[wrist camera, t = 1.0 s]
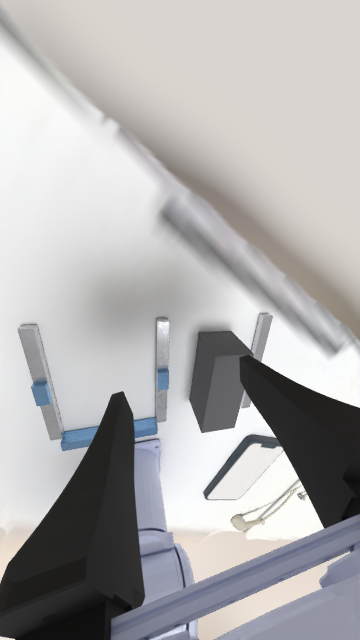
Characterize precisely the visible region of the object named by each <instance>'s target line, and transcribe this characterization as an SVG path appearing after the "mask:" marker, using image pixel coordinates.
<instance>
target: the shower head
mask: <svg viewBox="0 0 360 640" xmlns="http://www.w3.org/2000/svg"><path fill="white" fill-rule="evenodd" d="M301 486H302V485H301ZM299 487H300V486H299ZM299 487H297V488H295V489H294V490H293V492H292V493H291V494H290V495H289V496H288V497H287V499H286V500H285V501H284V502H283V503H282V504H281V505H280V506H279V507H278V508H277V509H275V510H274V511H273V512H272V513H270V514H269V515H267V516H266V517H264V518H263V519H262V518H261V519H257V520H253V521H248V522H245V520H244V519H243V518H242V517H241V516H240V515H236V516H234V517H233V518H232V520H231V523H232V524H233V526H234V527H235V528H236V529H238V530H239V531H244V530H245V529H247V528H249V527H252V526H254V525H257V524H260V523H261V524H262V525H264V523H265V521H264V520H265V519H267V518H268V517H270V516H271V515H272V514H274V513H275V512H276V511H277V510H279V509H280V508H281V507H282V506H283V505H284V504H285V503H286V502H287V500H288V499H289V498H290V497H291V496H292V494H293V493H294V492H295V491H296V490H297V489H298V488H299ZM299 495H300V496H301V497H300V496H299ZM299 495H298V497H299V498H300V499H301V500H305V497H306V496H307V495H308V494H307V493H306V494H304V495H302V494H301V493H300V494H299Z"/></svg>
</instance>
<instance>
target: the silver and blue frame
mask: <svg viewBox="0 0 360 640" xmlns="http://www.w3.org/2000/svg"><path fill="white" fill-rule="evenodd" d="M272 318H273V316H272V315H270V314H259V319H258V323H257V328H256V332H255V336H254V341H253V345H252V350H251V351H252V352H253V353H254V357H253V358H255V359H257V360H258V361H260V362H261V361H262V357H263V353H264V349H265V345H266V341H267V337H268V333H269V329H270V325H271V322H272ZM169 325H170V321H169V319H168V318H165V319H157V336H156V417H155V418H149V419H143V420H136V421H134V430H135V438H138V437H144V436H149V435H155V434H157V422H163V421H166V408H167V389H168V383H169V371H168V353H169ZM18 333H19V336H20V339H21V343H22V346H23V349H24V353H25V356H26V359H27V363H28V366H29V369H30V373H31V376H32V379H33V385H32V387H31V389H32V392H33V395H34V399H35V402H36V405H37V406H41V410H42V413H43V416H44V420H45V423H46V426H47V430H48V433H49V437H50V440H55V439H61V438H62V441H61V447H62V451H66V450H72V449H77V448H83V447H88V446H90V444H91V442H92V440H93V438H94V436H95V434H96V432H97V430H98V427H93V428H87V429H80V430H74V431H68V432H64V429H63V425H62V421H61V417H60V413H59V410H58V406H57V402H56V398H55V394H54V390H53V386H52V382H51V378H50V374H49V370H48V366H47V362H46V358H45V354H44V350H43V346H42V342H41V338H40V334H39V330H38V326H37V325H22V326H20V327H19V328H18ZM250 403H251V399H250V398H249V397H248V395H247V393H246V391H245V390H244V394H243V398H242V401H241V405H240V406H241V408H247V407H250Z"/></svg>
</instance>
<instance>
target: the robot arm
mask: <svg viewBox="0 0 360 640" xmlns="http://www.w3.org/2000/svg"><path fill="white" fill-rule="evenodd" d="M239 362H240V382H241V384H242V386H243V388H244V389H245V391H246V393H247V395H248V397H249V398H250V399H251V401H252V402H253V404H254V405H255V407H256V408H257V410H258V411H259V412H260V414H261V415H262V417H263V418H264V419H265V421H266V422H267V424H268V425H269V427H270V428H271V430H272V431H273V433H274V434H275V436H276V437H277V439H278V441H279V443H280V444H281V446H282V448H283V450H284V451H285V453H286V455H287V457H288V459H289V460H290V462H291V464H292V466H293V468H294V469H295V471H296V473H297V475H298V477H299V479H300V481H301V483H302V485H303V486H304V488H305V490H306V492H307V494H308V496H309V498H310V500H311V502H312V504H313V506H314V508H315V510H316V512H317V514H318V516H319V518H320V521H321V523H322V525H323V527H324V528H325V529H323V530H321V531H318V532H316V533H314V534H311V535H309V536H306V537H304V538H302V539H299V540H297V541H295V542H292V543H290V544H288V545H285V546H283V547H280V548H278V549H276V550H273V551H271V552H269V553H266V554H264V555H262V556H259V557H257V558H255V559H252V560H250V561H247V562H245V563H243V564H240V565H238V566H235V567H233V568H231V569H228V570H226V571H224V572H221V573H219V574H217V575H214V576H212V577H209V578H207V579H205V580H202V581H200V582H198V583H196V584H195V583H194V577H193V573H192V568H191V565H190V561H189V558H188V556H187V554H186V552H185V551H184V549H183V548H182V546H181V545H180V544H179V543H175V544H174V540H173V533H172V532H167V526H166V518H165V511H164V504H163V497H162V490H161V482H160V446H161V443H160V440H152V441H147V442H142V443H136V444H135V430H134V420H133V413H132V411H131V408H130V406H129V404H128V401H127V399H126V397H125V394H124V392H123V391H122V392H119V393H115V394H112V396H111V398H110V401H109V403H108V406H107V409H106V411H105V414H104V416H103V418H102V421H101V423H100V425H99V427H98V430H97V432H96V434H95V436H94V438H93V440H92V442H91V444H90V446H89V448H88V450H87V452H86V454H85V456H84V457H83V459H82V461H81V463H80V464H79V466H78V468H77V470H76V471H75V473H74V474H73V476H72V478H71V479H70V481H69V482H68V484H67V486H66V487H65V489H64V490H63V492H62V493H61V495H60V496H59V498H58V499H57V500H56V502H55V503H54V505H53V506H52V507H51V509H50V510H49V512H48V513H47V514H46V516H45V517H44V519H43V520H42V521H41V523H40V524H39V525H38V527H37V528H36V529H35V531H34V532H33V533H32V534H31V536H30V537H29V538H28V540H27V541H26V542H25V543H24V545H23V546H22V547H21V548H20V550H19V551H18V552H17V554H16V555H15V556H14V557H13V558H12V560H11V561H10V562H9V563H8V565H7V568H6V570H5V573H4V575H3V578H2V580H1V583H0V636H1V637H7V638H13V639H15V640H199V639H198V634H197V624H198V618H200V617H203V616H205V615H207V614H209V613H212V612H214V611H216V610H218V609H220V608H223V607H225V606H227V605H230V604H232V603H234V602H236V601H239V600H241V599H243V598H245V597H248V596H250V595H252V594H254V593H257V592H259V591H261V590H263V589H266V588H268V587H270V586H272V585H275V584H277V583H279V582H281V581H284V580H286V579H288V578H290V577H292V576H295V575H297V574H299V573H301V572H304V571H306V570H308V569H311V568H313V567H315V566H317V565H320V564H322V563H324V562H326V561H329V560H331V559H333V558H335V557H338V556H340V555H342V554H344V553H346V552H349V551H350V553H349V554H347V555H346V556H344V557H342V558H341V559H339V560H338V561H336V562H334V563H332V564H331V565H329V566H328V571H327V573H326V574H325V575H324V576H323V577H322V578H320V582H319V583H320V585H321V587H322V589H320V590H318V591H315V592H313V593H310V594H308V595H306V596H303V597H301V598H299V599H297V600H294V601H292V602H290V603H287V604H285V605H283V606H281V607H279V608H277V609H274V610H272V611H270V612H268V613H266V614H264V615H262V616H259V617H257V618H256V619H253V620H251V621H249V622H247V623H245V624H243V625H241V626H239V627H237V628H235V629H233V630H231V631H229V632H227V633H225V634H223V635H222V636H220V637H217V638H216V639H214V640H360V408H358V407H355V406H352V405H349V404H346V403H343V402H341V401H338V400H335V399H333V398H330V397H327V396H325V395H322V394H320V393H318V392H315V391H313V390H311V389H309V388H306V387H304V386H302V385H300V384H298V383H296V382H294V381H292V380H290V379H289V378H287V377H285V376H283V375H281V374H280V373H278V372H276V371H275V370H273V369H271V368H270V367H268V366H266V365H265V364H263V363H261V362H260V361H258V360H257V359H255V358H253V357H252V356H250V355H249V354H248V355H245V356H241V357H239Z"/></svg>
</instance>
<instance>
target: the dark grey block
mask: <svg viewBox="0 0 360 640" xmlns="http://www.w3.org/2000/svg"><path fill="white" fill-rule="evenodd" d="M248 354H249V355H250V356H252V357H254V353H253V352H252V351H251V350H250V349H249V348H248V347H247V346H246V345H245V344H244V343H243V342H242V341H241V340H240V339H239V338H238V337H237V336H236V335H235V334H234V333H233V332H232V331H223V332H199V336H198V343H197V350H196V357H195V365H194V372H193V379H192V386H191V394H190V403H191V405H192V408H193V411H194V414H195V416H196V419H197V422H198V424H199V427H200V430H201V433H205V432H211V431H217V430H223V429H229V428H234V427H235V423H236V420H237V416H238V412H239V409H240V405H241V401H242V398H243V394H244V390H245V389H244V388H243V386H242V384H241V382H240V362H239V357H241V356H245V355H248Z"/></svg>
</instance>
